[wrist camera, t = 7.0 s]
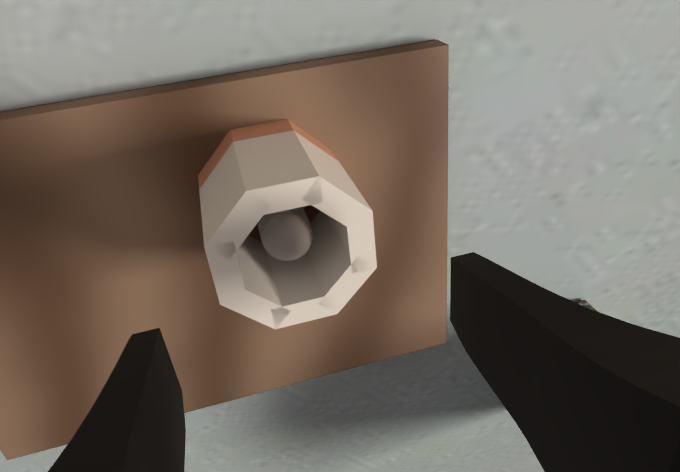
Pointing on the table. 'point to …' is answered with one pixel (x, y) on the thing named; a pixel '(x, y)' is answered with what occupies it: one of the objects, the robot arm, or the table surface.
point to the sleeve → (274, 196)
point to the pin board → (187, 234)
